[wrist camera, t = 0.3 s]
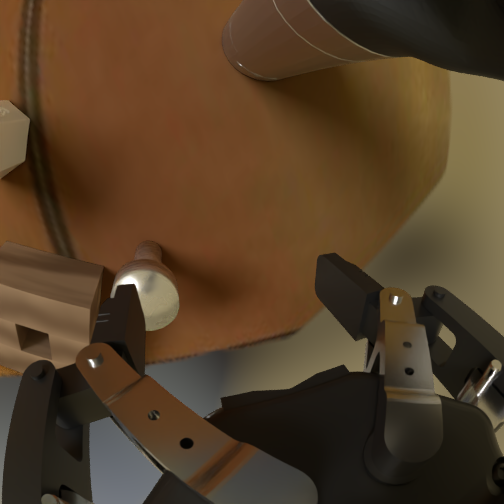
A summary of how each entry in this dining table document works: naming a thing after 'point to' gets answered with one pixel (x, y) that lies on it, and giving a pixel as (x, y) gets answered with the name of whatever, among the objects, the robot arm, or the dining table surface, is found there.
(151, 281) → the pin
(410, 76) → the dining table surface
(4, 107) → the jar
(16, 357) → the pin block
